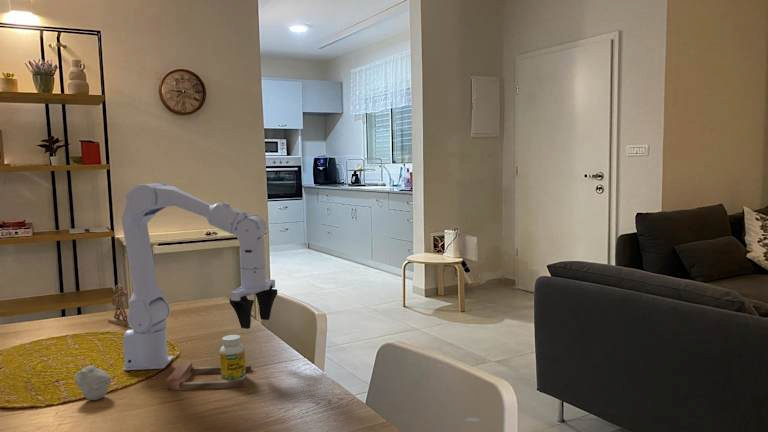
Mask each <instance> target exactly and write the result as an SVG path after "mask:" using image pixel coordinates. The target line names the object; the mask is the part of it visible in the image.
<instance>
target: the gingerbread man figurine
mask: <svg viewBox="0 0 768 432" xmlns="http://www.w3.org/2000/svg"><path fill="white" fill-rule="evenodd" d="M114 287H115V288H114V292H115V294H114V295H113V296H112V298H111V304H112V306H116V308H115V311H114V316H113V317H111V318H108V319H107V322H108V323H110V324H114V325H117V326H123V327H126V326H129V324H128V320H127V316H128V313H127V312H126V309H125V303H126V302H127V301H128V298H129V295H128V292H127V291H124V288H123V286H122V285H121V284H116V285H115V286H114ZM123 297H124V298H125V299H124V300H123ZM115 298H117V299H115ZM119 309H120V310H119Z"/></svg>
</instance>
